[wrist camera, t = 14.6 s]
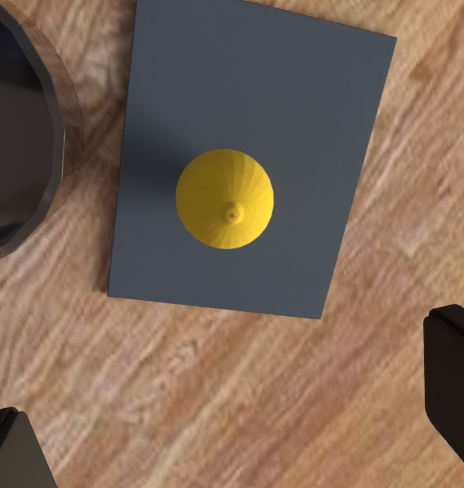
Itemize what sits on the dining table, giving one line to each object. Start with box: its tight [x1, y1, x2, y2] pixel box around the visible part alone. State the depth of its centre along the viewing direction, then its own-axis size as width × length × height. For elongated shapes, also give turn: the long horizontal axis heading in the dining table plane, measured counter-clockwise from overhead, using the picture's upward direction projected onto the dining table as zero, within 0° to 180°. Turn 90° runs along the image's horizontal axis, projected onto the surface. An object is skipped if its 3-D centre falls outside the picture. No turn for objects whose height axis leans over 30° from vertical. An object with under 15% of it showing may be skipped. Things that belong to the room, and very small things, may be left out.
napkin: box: [108, 0, 397, 319], centre depth 27 cm, size 16×20×1 cm
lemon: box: [176, 149, 274, 249], centre depth 23 cm, size 6×6×8 cm
